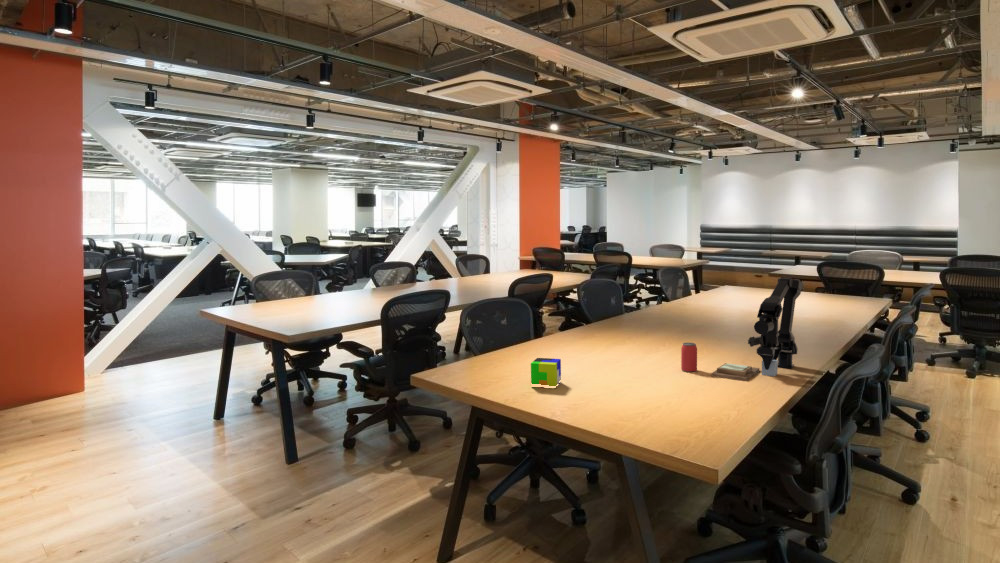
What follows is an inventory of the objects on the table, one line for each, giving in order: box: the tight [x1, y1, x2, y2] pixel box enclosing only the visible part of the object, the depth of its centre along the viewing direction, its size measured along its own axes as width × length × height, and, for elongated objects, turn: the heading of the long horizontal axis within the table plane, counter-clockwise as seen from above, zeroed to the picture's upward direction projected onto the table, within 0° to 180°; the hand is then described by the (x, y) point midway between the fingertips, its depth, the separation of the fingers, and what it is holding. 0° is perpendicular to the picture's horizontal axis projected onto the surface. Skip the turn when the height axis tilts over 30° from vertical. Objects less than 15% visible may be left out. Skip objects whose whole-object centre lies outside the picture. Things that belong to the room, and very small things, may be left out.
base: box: [710, 363, 760, 382], centre depth 243 cm, size 20×14×3 cm
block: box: [761, 359, 779, 377], centre depth 240 cm, size 5×5×6 cm
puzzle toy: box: [530, 357, 562, 386], centre depth 233 cm, size 10×10×10 cm
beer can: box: [680, 342, 698, 373], centre depth 250 cm, size 7×7×12 cm
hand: (769, 367), depth 241 cm, fingers open, 9 cm apart
